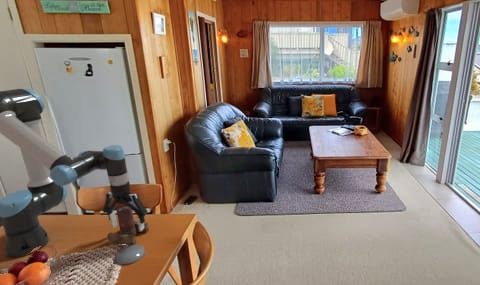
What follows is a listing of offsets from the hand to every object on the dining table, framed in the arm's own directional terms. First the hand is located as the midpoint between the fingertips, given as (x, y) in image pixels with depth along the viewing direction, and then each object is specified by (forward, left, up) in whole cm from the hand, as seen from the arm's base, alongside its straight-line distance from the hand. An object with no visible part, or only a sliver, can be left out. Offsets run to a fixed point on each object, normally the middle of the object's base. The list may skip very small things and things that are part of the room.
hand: (128, 228), depth 126 cm
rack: (0, 0, -4) cm, 4 cm away
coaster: (+8, -11, -4) cm, 14 cm away
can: (0, 0, -5) cm, 5 cm away
